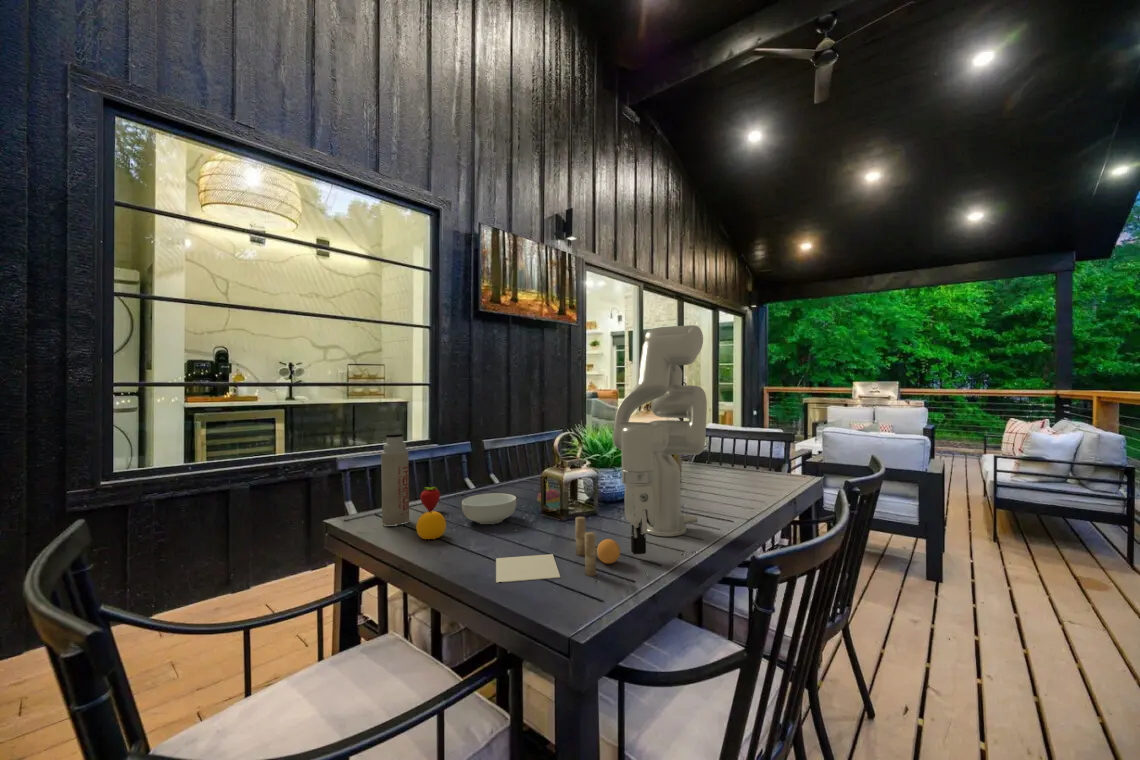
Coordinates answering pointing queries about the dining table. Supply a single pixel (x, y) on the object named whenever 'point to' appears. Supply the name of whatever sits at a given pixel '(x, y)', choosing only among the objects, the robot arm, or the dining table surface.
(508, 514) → the cereal bowl
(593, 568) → the post
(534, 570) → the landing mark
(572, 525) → the dining table surface
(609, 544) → the ball
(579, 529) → the post
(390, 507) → the thermos bottle
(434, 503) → the strawberry
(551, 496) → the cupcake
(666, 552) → the dining table surface
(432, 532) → the orange round fruit
